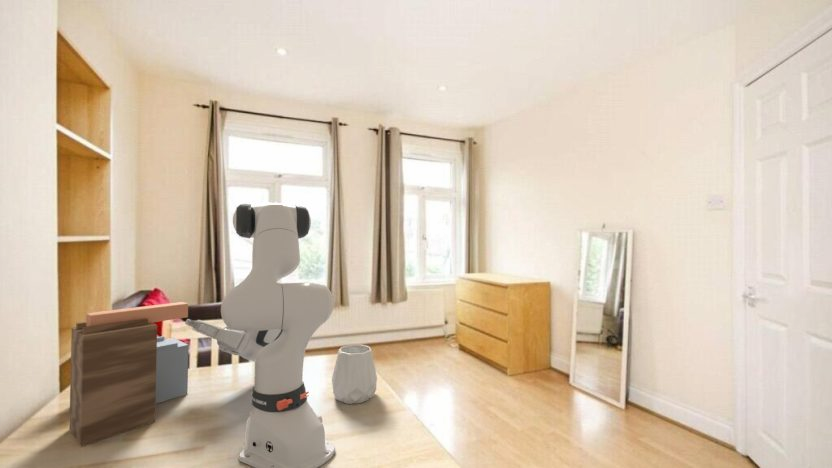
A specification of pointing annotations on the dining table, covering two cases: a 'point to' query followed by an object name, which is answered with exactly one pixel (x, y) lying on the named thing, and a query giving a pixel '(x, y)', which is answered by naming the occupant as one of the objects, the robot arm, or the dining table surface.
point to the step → (171, 369)
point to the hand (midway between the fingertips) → (193, 324)
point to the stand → (112, 378)
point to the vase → (354, 374)
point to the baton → (139, 314)
